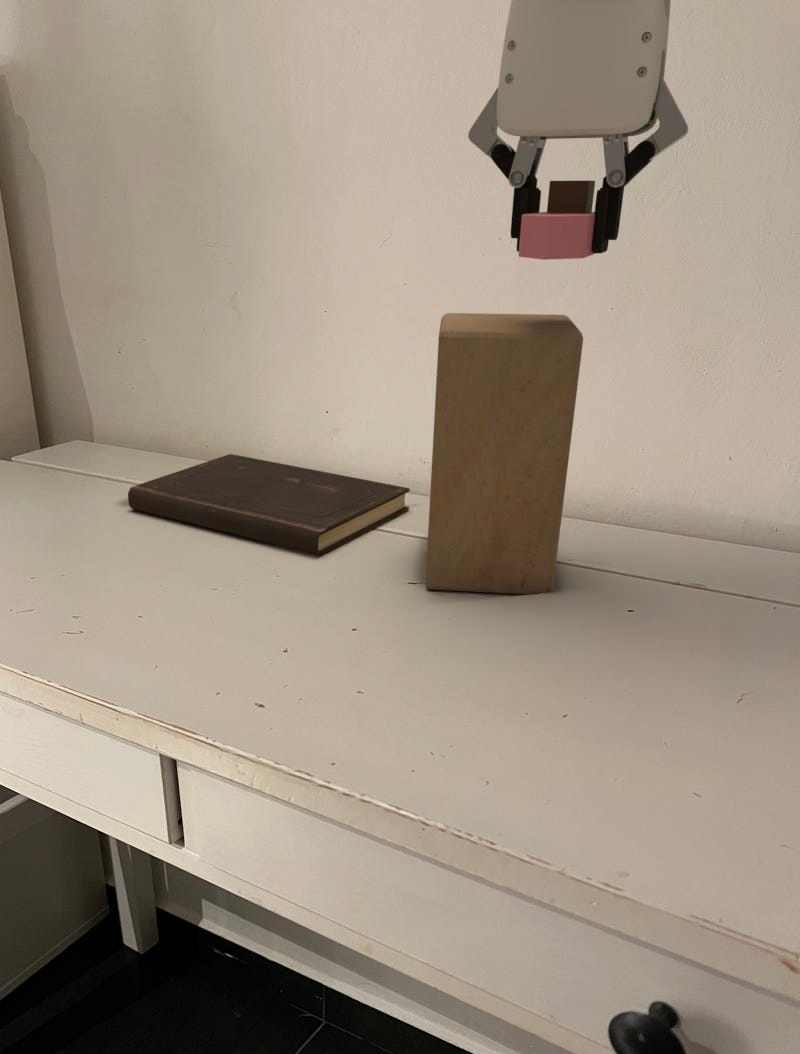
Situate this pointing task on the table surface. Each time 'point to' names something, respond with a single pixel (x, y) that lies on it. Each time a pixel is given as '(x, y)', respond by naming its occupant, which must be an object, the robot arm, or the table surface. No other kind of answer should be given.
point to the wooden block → (500, 450)
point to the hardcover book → (272, 502)
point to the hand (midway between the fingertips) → (562, 248)
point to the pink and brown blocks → (561, 223)
